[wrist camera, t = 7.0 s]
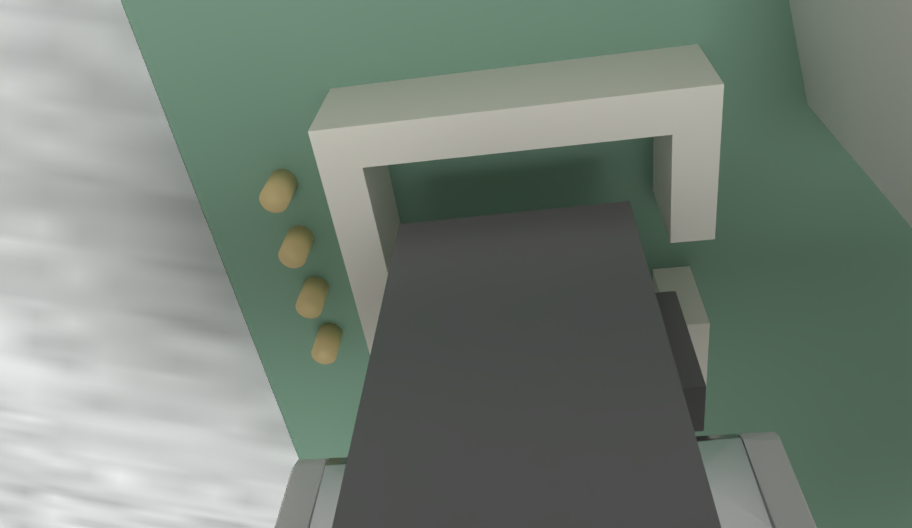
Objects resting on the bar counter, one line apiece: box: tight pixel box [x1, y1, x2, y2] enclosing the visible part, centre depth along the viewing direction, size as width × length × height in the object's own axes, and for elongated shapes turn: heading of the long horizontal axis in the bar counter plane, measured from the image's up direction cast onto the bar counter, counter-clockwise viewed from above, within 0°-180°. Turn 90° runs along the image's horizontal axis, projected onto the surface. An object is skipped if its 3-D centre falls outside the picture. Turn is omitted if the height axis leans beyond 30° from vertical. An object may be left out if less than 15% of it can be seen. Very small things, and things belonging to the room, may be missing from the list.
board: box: [121, 0, 912, 528], centre depth 18 cm, size 20×26×3 cm
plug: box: [332, 201, 721, 528], centre depth 11 cm, size 5×5×8 cm
